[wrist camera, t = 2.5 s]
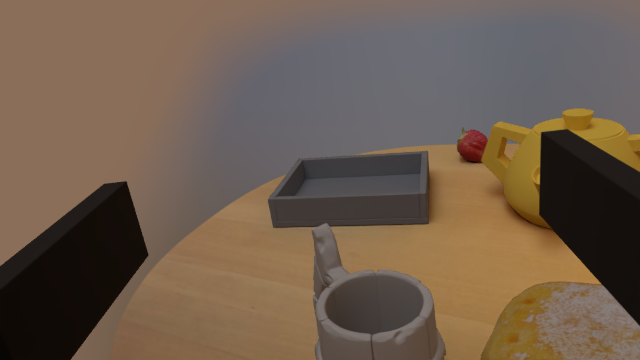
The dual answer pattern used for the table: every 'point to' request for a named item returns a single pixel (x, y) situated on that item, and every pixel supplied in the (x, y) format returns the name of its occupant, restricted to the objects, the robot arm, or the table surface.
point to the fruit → (472, 145)
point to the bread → (564, 326)
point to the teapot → (525, 162)
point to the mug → (370, 311)
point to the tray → (354, 191)
